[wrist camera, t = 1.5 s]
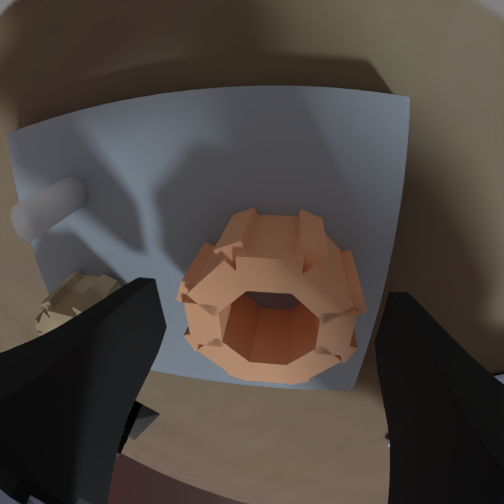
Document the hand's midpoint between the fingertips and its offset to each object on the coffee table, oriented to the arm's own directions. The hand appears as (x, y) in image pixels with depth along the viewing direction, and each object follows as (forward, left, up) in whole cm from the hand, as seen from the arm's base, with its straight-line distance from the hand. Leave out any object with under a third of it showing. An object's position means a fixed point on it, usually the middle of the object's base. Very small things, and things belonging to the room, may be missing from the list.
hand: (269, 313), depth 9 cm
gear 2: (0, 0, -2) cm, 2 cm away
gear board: (+4, 0, -4) cm, 5 cm away
